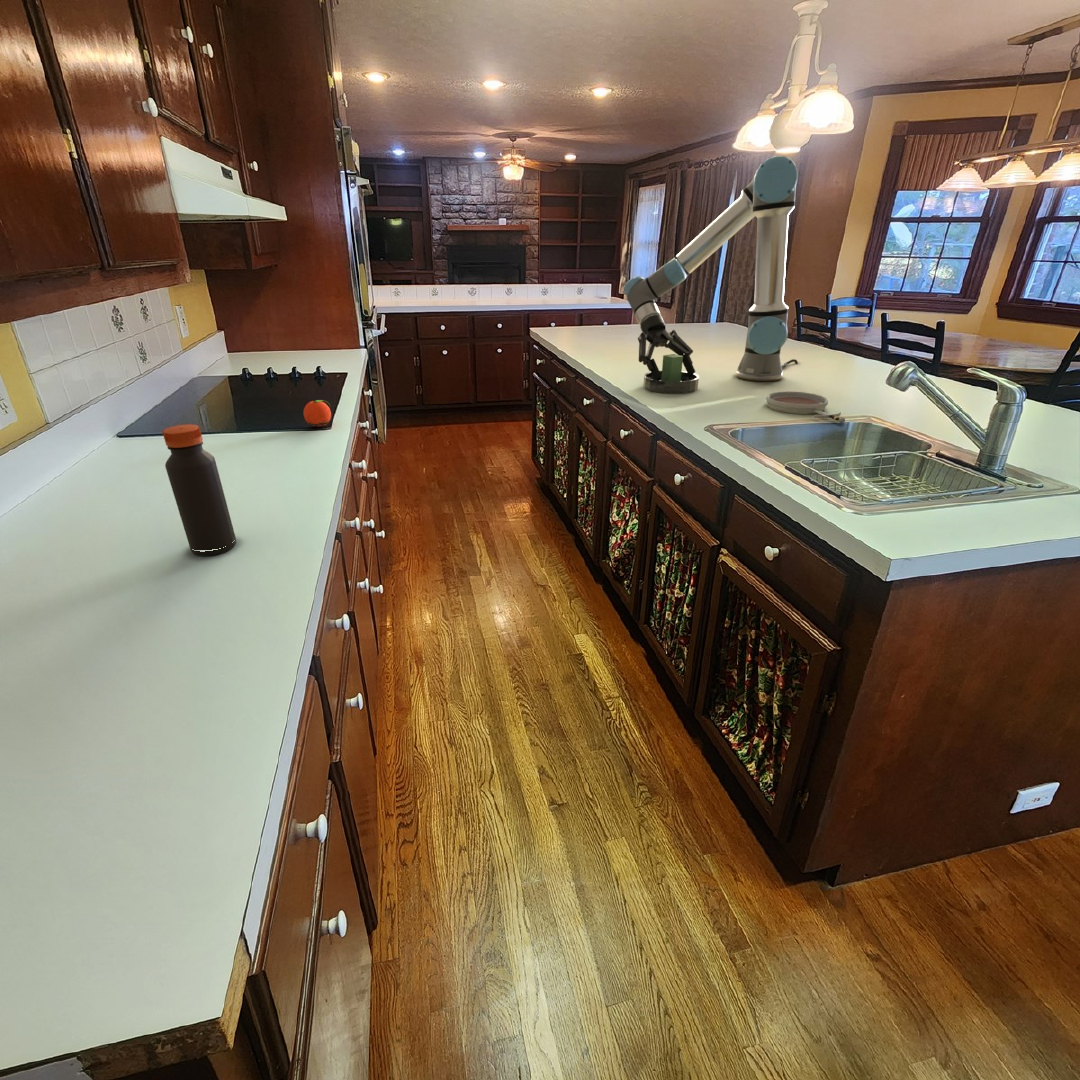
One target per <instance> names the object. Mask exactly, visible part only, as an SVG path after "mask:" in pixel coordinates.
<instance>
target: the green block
mask: <svg viewBox="0 0 1080 1080" xmlns="http://www.w3.org/2000/svg"><path fill="white" fill-rule="evenodd" d="M661 371H662V377H661V381H681V372H682V371H683V356H680V355H678V354H676V353H671V354H664V355H662V366H661Z"/></svg>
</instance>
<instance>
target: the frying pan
mask: <svg viewBox="0 0 1080 1080" xmlns="http://www.w3.org/2000/svg"><path fill="white" fill-rule="evenodd" d="M765 400H766V405H767V407H768V408H769V409H771V410H774V411H777V412H782V413H787V414H797V415H798V414H799V415H810V414H814V416H813V418H814V419H832V420H834V421H837V422H838V423H839V425H842V424H844V423H845V422H846V418H845V417H843V416H842V417H840V416H841V411H840V412H838V413H833V414H832V413H831V414H830V413H827V412H824V411H825V408H826V407H827V406H828V405H829V400H828V399H827V398H826V397H824V396H822V395H821V394H815V393H811V392H804V391H791V390H790V391H789V390H788V391H787V390H786V391H773V392H771V393H769V394H768V395H767V396H766V397H765Z"/></svg>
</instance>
